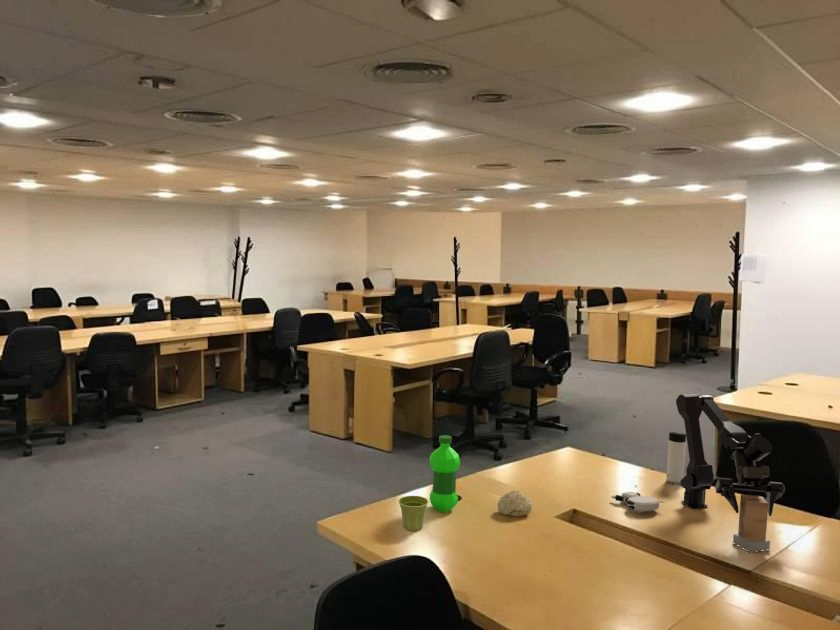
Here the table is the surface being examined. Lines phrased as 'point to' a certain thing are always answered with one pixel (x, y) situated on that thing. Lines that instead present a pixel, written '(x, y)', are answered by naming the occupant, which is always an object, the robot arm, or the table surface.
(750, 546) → the base slab
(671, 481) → the travel mug
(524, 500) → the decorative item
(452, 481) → the plastic bottle
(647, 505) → the robot toy
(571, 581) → the table surface
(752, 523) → the walnut block
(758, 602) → the table surface
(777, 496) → the robot arm
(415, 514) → the plant pot
